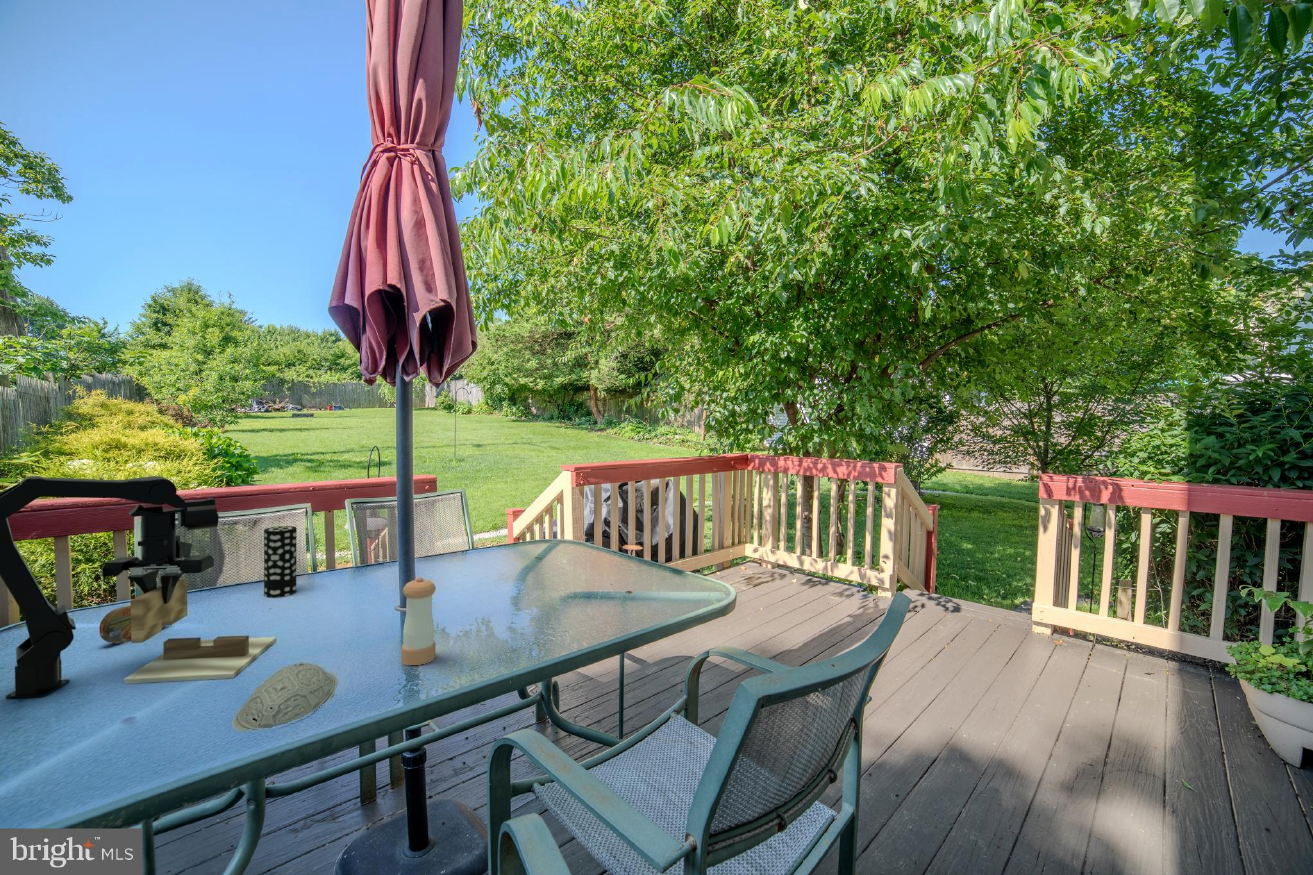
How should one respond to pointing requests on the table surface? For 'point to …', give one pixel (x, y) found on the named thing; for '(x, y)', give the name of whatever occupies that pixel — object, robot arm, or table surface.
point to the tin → (117, 625)
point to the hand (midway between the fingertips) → (160, 603)
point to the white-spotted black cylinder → (280, 561)
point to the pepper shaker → (418, 623)
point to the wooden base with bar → (201, 659)
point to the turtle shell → (286, 697)
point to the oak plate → (157, 611)
